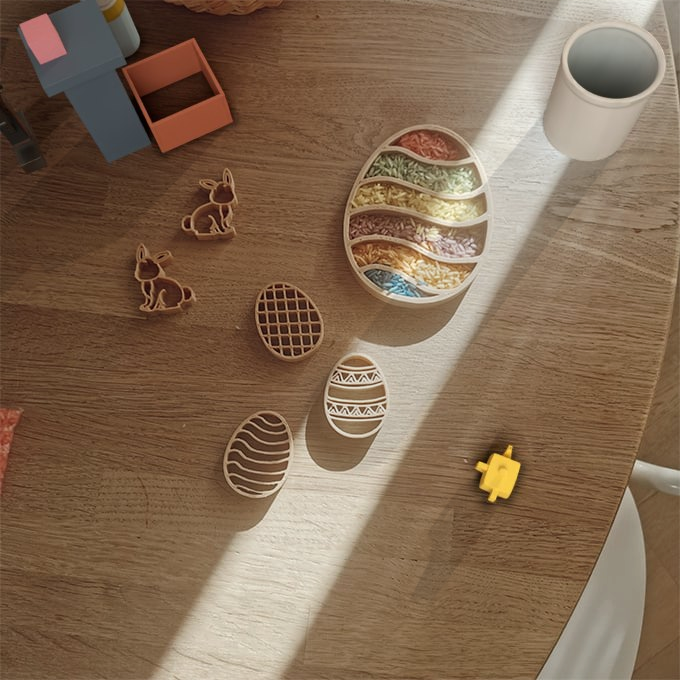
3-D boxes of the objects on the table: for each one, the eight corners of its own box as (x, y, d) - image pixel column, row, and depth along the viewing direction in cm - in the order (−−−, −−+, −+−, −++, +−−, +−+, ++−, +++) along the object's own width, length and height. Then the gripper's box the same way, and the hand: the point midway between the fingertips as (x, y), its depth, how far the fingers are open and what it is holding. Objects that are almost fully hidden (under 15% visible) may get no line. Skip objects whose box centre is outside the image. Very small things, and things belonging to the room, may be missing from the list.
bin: (164, 157, 125) (150, 127, 117) (137, 100, 130) (121, 68, 122) (234, 126, 127) (224, 94, 119) (205, 71, 131) (193, 37, 123)
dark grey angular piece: (27, 174, 117) (-7, 134, 106) (8, 127, 120) (-27, 83, 109) (47, 165, 117) (16, 124, 107) (28, 119, 120) (-5, 74, 110)
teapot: (483, 442, 106) (488, 434, 101) (522, 457, 105) (528, 450, 100) (464, 493, 104) (469, 488, 99) (503, 509, 103) (509, 505, 98)
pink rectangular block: (40, 64, 103) (27, 44, 99) (32, 44, 104) (18, 24, 101) (67, 53, 104) (55, 33, 100) (58, 33, 105) (46, 12, 101)
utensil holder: (618, 178, 120) (656, 111, 103) (528, 156, 122) (551, 87, 105) (635, 106, 124) (675, 30, 107) (548, 86, 126) (574, 9, 110)
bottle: (144, 58, 133) (116, -6, 118) (106, 67, 132) (74, 3, 118) (139, 28, 135) (110, -38, 121) (101, 37, 135) (69, -29, 121)
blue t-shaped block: (103, 180, 124) (42, 88, 102) (80, 128, 128) (16, 27, 106) (168, 152, 126) (122, 54, 103) (143, 101, 129) (93, -5, 107)
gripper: (-23, 55, 91) (55, 160, 113) (-58, -33, 95) (23, 85, 118) (-81, 79, 90) (9, 180, 112) (-114, -11, 95) (-22, 103, 117)
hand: (16, 131), depth 115 cm, fingers closed on dark grey angular piece, 3 cm apart
